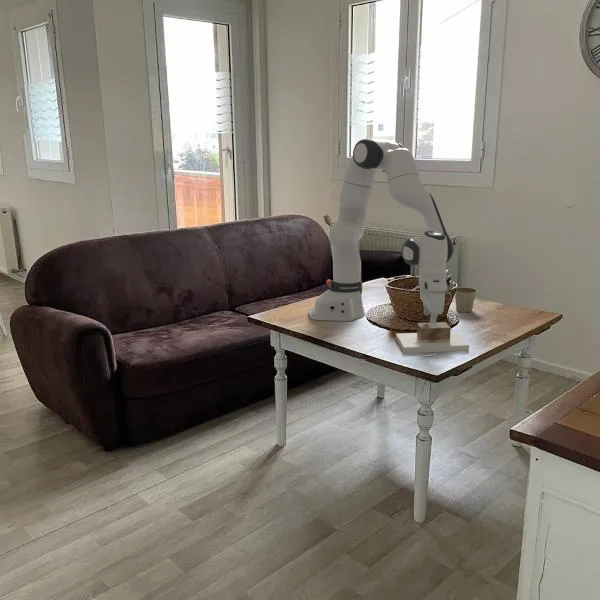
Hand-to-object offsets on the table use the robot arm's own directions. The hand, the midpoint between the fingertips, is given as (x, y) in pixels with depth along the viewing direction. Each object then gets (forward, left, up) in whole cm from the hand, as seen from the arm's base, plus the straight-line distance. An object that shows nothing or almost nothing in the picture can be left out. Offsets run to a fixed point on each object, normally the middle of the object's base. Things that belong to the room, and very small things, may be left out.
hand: (429, 319), depth 210 cm
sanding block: (+2, 0, -7) cm, 8 cm away
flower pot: (+24, +38, -10) cm, 46 cm away
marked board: (+1, 0, -9) cm, 9 cm away
